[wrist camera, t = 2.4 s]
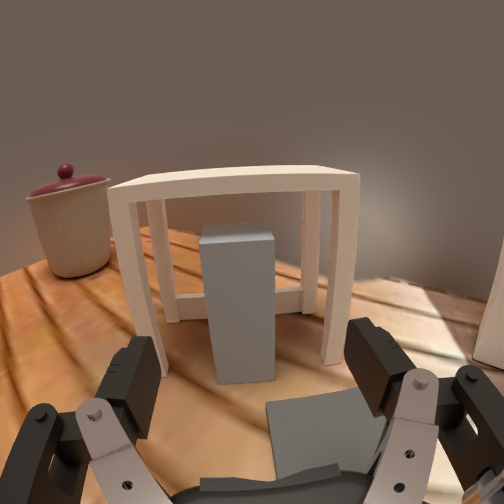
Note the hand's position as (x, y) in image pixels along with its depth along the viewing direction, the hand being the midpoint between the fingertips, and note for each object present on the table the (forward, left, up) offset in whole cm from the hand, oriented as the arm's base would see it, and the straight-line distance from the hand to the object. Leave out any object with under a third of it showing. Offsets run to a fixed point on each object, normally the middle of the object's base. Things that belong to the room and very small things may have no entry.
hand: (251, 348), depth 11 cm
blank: (-8, +9, -11) cm, 16 cm away
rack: (-10, +12, -11) cm, 19 cm away
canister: (-50, +10, -12) cm, 52 cm away
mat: (+3, +5, -11) cm, 13 cm away
